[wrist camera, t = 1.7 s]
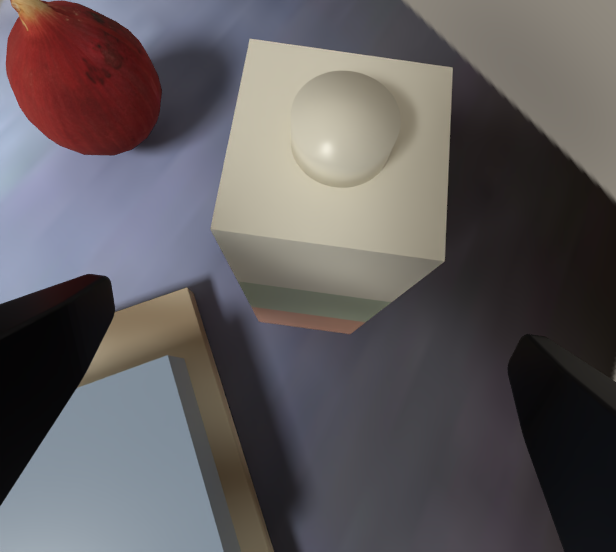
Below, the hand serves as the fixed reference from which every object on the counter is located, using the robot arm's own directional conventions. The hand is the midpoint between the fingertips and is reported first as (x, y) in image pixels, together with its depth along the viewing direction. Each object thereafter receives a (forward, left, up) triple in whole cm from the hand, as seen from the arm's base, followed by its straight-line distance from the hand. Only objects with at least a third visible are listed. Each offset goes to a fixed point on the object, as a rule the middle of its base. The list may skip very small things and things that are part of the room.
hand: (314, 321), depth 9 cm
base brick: (-3, +9, -9) cm, 13 cm away
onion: (+14, +5, -11) cm, 18 cm away
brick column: (+3, -2, -10) cm, 11 cm away
